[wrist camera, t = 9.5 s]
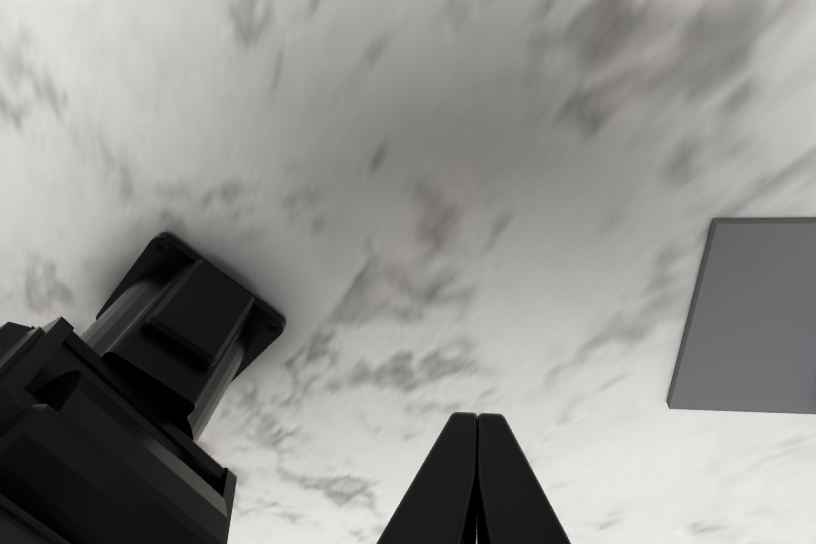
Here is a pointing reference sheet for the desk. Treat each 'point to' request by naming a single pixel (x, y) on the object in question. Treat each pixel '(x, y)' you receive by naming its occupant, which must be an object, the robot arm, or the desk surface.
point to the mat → (752, 321)
